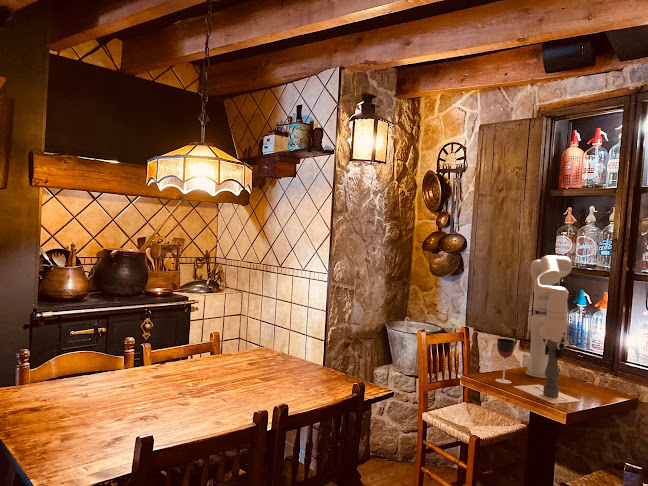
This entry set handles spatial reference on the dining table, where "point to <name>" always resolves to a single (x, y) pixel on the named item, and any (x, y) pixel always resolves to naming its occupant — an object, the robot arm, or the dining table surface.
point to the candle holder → (551, 371)
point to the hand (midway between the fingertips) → (553, 355)
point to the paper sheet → (538, 392)
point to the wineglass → (505, 353)
